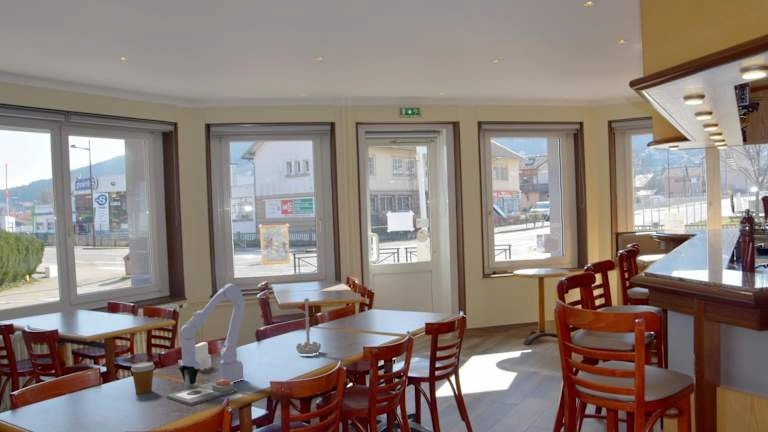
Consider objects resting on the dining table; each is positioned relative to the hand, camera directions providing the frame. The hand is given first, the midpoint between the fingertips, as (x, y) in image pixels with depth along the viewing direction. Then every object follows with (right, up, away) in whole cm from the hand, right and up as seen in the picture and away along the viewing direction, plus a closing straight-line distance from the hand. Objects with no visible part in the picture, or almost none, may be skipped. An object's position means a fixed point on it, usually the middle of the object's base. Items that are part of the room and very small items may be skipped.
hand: (189, 382), depth 258 cm
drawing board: (+9, -2, -11) cm, 14 cm away
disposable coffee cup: (-19, -3, -4) cm, 19 cm away
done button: (+17, +1, -9) cm, 19 cm away
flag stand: (+46, 0, +53) cm, 70 cm away
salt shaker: (0, -2, 0) cm, 2 cm away
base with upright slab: (-5, -2, +33) cm, 33 cm away
